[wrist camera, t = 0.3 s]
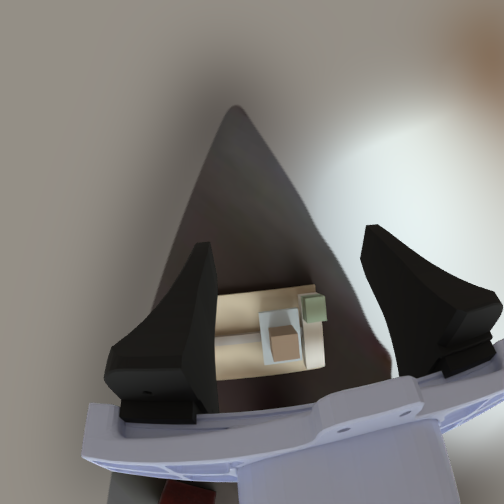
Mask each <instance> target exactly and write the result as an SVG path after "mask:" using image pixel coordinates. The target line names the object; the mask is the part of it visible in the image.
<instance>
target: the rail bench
mask: <svg viewBox="0 0 504 504" xmlns="http://www.w3.org/2000/svg"><path fill="white" fill-rule="evenodd" d="M294 307H297V308H298V314H299V325H300V336H301V348H302V360H300V361H293V362H286V363H279V364H271V365H264V358H263V349H262V340H261V331H260V322H259V313H258V312H262V311H270V310H279V309H287V308H294ZM322 321H327V316H326V304H325V296H323V295H321V294H319V293H317V292H315V285H314V284H311V285H303V286H295V287H287V288H279V289H270V290H262V291H253V292H244V293H235V294H225V295H218V299H217V312H216V325H215V365H216V380H229V379H240V378H250V377H260V376H268V375H276V374H284V373H291V372H298V371H305V370H311V369H317V368H321V367H324V366H325V359H324V344H323V330H322Z"/></svg>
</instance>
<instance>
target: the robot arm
mask: <svg viewBox="0 0 504 504" xmlns="http://www.w3.org/2000/svg"><path fill="white" fill-rule="evenodd" d="M360 260H361V263H362V266H363V270H364V272H365V275H366V278H367V280H368V282H369V284H370V287H371V289H372V291H373V293H374V295H375V297H376V299H377V301H378V304H379V306H380V308H381V310H382V312H383V315H384V317H385V320H386V323H387V326H388V329H389V333H390V336H391V340H392V343H393V348H394V352H395V357H396V361H397V367H398V372H399V377H397V378H393V379H389V380H386V381H382V382H378V383H374V384H369V385H365V386H361V387H356V388H352V389H347V390H342V391H339V392H335V393H332V394H329V395H327V396H325V397H323V398H321V399H319V400H318V401H317V402H316V403H311V404H305V405H298V406H291V407H284V408H276V409H268V410H258V411H247V412H235V413H219V405H218V394H217V381H216V365H215V325H216V312H217V299H218V287H217V273H216V268H215V264H214V259H213V254H212V249H211V244H210V242H202V243H196V244H195V246H194V248H193V250H192V252H191V254H190V256H189V258H188V260H187V262H186V263H185V265H184V267H183V269H182V270H181V272H180V274H179V276H178V277H177V279H176V280H175V282H174V283H173V285H172V286H171V288H170V289H169V291H168V292H167V294H166V295H165V296H164V298H163V299H162V300H161V302H160V303H159V304H158V305H157V306H156V308H155V309H154V310H153V311H152V312H151V313H150V314H149V315H148V316H147V318H146V319H145V320H144V321H143V322H142V323H140V324H139V325H138V326H137V327H136V328H135V329H134V330H133V331H132V332H130V333H129V334H128V335H127V336H125V337H124V338H123V339H122V340H120V341H119V342H118V343H116V344H115V345H114V346H112V347H111V350H110V353H109V356H108V360H107V364H106V369H105V374H104V381H105V383H106V384H107V385H108V387H109V388H110V389H111V390H112V391H113V392H114V393H115V394H116V395H117V396H118V397H119V398H120V399H121V407H119V406H116V405H112V404H102V403H89V408H88V413H87V418H86V425H85V431H84V438H83V445H82V453H81V456H82V458H84V459H86V460H88V461H90V462H92V463H94V464H97V465H99V466H101V467H103V468H105V469H108V470H110V471H114V472H120V473H126V474H133V475H141V476H148V477H156V478H165V479H175V480H188V481H205V482H238V494H239V504H461V503H460V499H459V494H458V490H457V487H456V482H455V478H454V474H453V470H452V467H451V463H450V459H449V456H448V453H447V449H446V446H445V443H444V440H443V436H442V434H443V433H445V432H447V431H450V430H452V429H453V428H456V427H458V426H459V425H461V424H463V423H465V422H467V421H469V420H471V419H473V418H474V417H476V416H478V415H480V414H482V413H483V412H485V411H487V410H489V409H491V408H492V407H494V406H496V405H497V404H499V403H501V402H503V401H504V339H502V340H500V341H498V342H496V343H495V344H494V345H492V343H491V341H490V340H491V339H492V335H491V332H490V330H491V329H492V327H493V326H494V325H495V323H496V322H497V320H498V318H499V317H500V315H501V313H502V310H503V305H502V303H501V302H500V300H499V299H498V297H497V295H496V294H495V292H493V291H490V290H488V289H484V288H481V287H478V286H476V285H473V284H471V283H468V282H466V281H464V280H461V279H459V278H457V277H455V276H453V275H451V274H449V273H447V272H446V271H444V270H442V269H440V268H439V267H437V266H435V265H434V264H432V263H430V262H429V261H427V260H426V259H424V258H423V257H421V256H420V255H419V254H417V253H416V252H414V251H413V250H412V249H410V248H409V247H408V246H406V245H405V244H404V243H402V242H401V241H400V240H398V239H397V238H396V237H394V236H393V235H392V234H391V233H389V232H388V231H386V230H385V229H384V228H382V227H381V226H379V225H378V224H376V225H366V229H365V235H364V241H363V246H362V251H361V257H360Z"/></svg>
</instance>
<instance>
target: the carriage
mask: <svg viewBox="0 0 504 504" xmlns="http://www.w3.org/2000/svg"><path fill="white" fill-rule="evenodd" d="M258 313H259V322H260V331H261V340H262V349H263V358H264V365H271V364H279V363H286V362H293V361H300V360H302V348H301V336H300V325H299V314H298V308H297V307H294V308H287V309H279V310H270V311H262V312H258Z"/></svg>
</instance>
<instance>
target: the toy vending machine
mask: <svg viewBox="0 0 504 504" xmlns="http://www.w3.org/2000/svg"><path fill="white" fill-rule="evenodd" d="M215 498H216V492H215V491H211V490H207V489H203V488H199V487H195V486H192V485H188V484H185V483H182V482H178V481H175V480H172V479H167V481H166V483H165V486H164V489H163V491H162V494H161V496H160V499H159V502H158V504H215Z"/></svg>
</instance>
